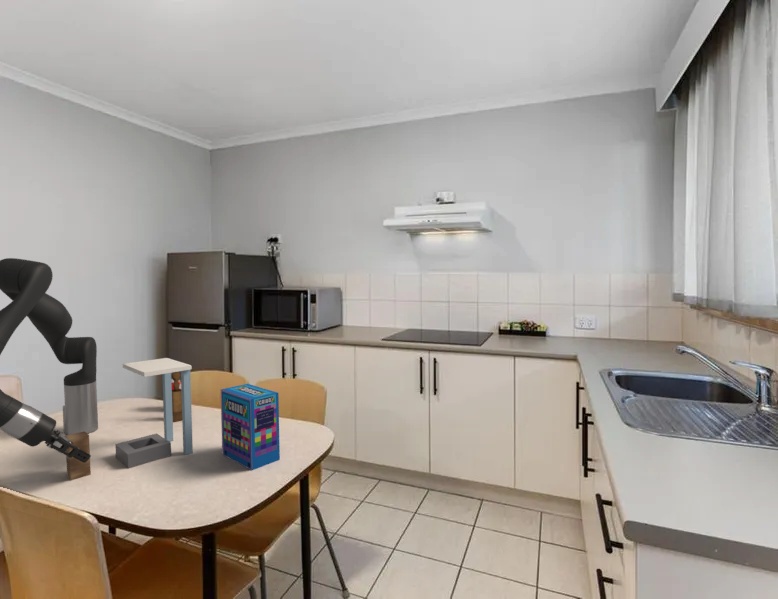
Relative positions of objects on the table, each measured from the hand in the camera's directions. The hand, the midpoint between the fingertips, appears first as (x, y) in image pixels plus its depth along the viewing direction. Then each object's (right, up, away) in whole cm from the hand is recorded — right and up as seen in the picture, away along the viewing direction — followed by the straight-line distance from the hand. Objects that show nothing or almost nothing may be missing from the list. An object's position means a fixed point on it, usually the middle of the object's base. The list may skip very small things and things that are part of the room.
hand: (84, 454), depth 117 cm
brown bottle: (+3, -3, +45) cm, 46 cm away
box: (+42, -5, +10) cm, 44 cm away
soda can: (-5, -3, +57) cm, 58 cm away
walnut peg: (-1, -5, -1) cm, 5 cm away
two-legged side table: (+13, -4, +15) cm, 20 cm away
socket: (+10, -4, +11) cm, 16 cm away
